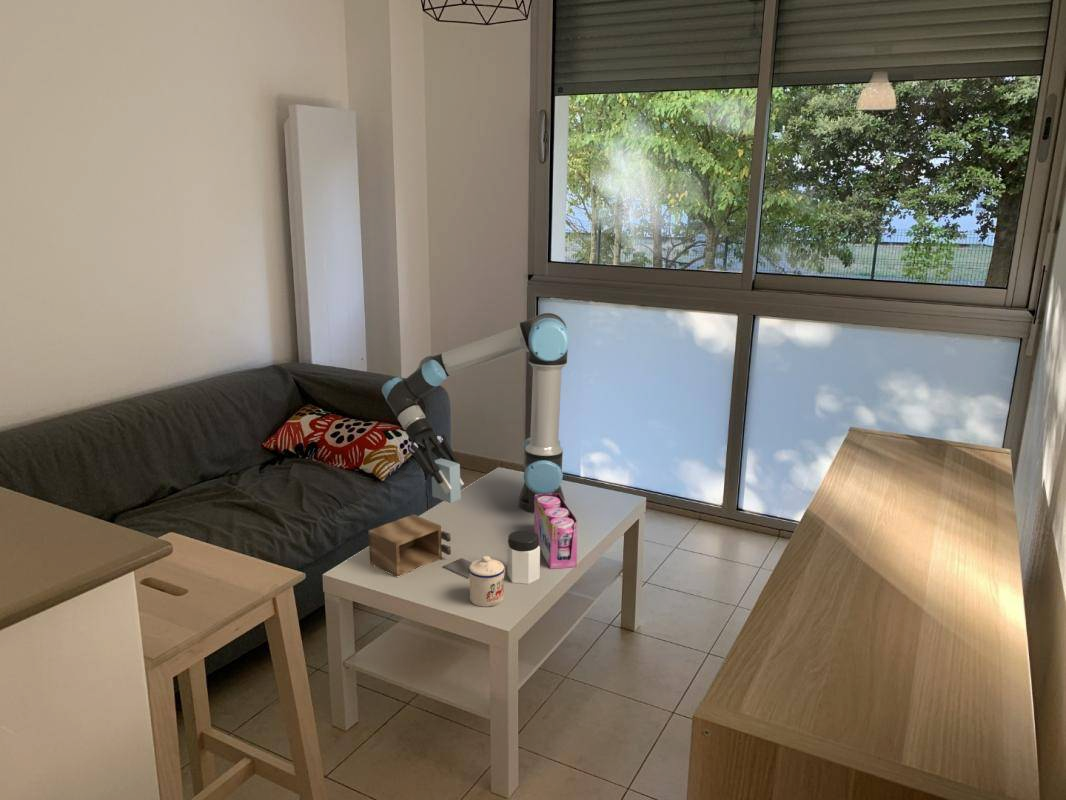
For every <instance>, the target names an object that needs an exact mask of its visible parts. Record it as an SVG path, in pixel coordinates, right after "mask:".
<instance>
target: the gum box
mask: <svg viewBox="0 0 1066 800" xmlns="http://www.w3.org/2000/svg"><path fill="white" fill-rule="evenodd" d="M533 514H534V518H533V519H534V522H533V523H534V527H533V528H534V529H533V530H534V531H533V532H535V533H537V534H538V536H539V546H540V552H541V553H542V555H543V557H544V559H545V562H546V563H547V565H548V567H549V568H550V570H552V569H553V570H554V569H567V568H578V567H577V565H578V553H577V552H578V521H577V518H576V516H575V515H574V514H573V512H572V511H571V510H570V508H569V506H568V505H567V504H566V501H565V502H564V501H563V499H562V497H561V496H560V494H559V493H553V494H538V495H535V499H534V512H533Z"/></svg>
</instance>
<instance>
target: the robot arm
mask: <svg viewBox="0 0 1066 800" xmlns="http://www.w3.org/2000/svg"><path fill="white" fill-rule="evenodd" d="M569 346H570V333H569V331H568V328H567V325H566V322H565V321H564V319H563V318H561V317H560V316H559V315H557V314H555V313H552V312H545V313H540V314H537V315H535V316H533V317H531V318H529V319H525V320H523V321H520V322H518V324H517V325H516V327H514V328H511V329H507V330H505V331H502V332H499V333H497V334H493V335H490V336H489V337H484V338H481V339H480V340H476V341H473V342H471V343H467V344H465V345H461V346H459V347H456V348H453V349H450V350H447V351H445V352H442V353H439V354H436V355H428V356H425V357H423V359H421V360H420V362H419V364H418V367H417V368H416V370H415V371H414V372H413V373H411V374H410V375H409V376H407V377H406V378H402V377H394V378H392V379H390V380H388V381H386V382H385V383H384V384H383V385H382V388H381V393H382V395H383V396H384V398H385V401H386V403H387V404H388V406H389V407H390V409H391V410H392V412H393V413H394V415H395V417H396V419H397V421H398V422H399V423H400V425H401V427H402V429H403V430H405V433H406V435H407V437H408V438H409V440H410V441H411V442H412V443H411V445H410V446H409V447H408V448H407V451H408V452H409V453H410V454H411V455H412V456H413V458H414V459H415V460H416V462H417V464H418V465H419V467H420V468H421V470H422V472H423V473H424V475H425V476H429V477H431V478H432V477H433V476H434V478H435V480H436V481H437V483H438V484H440V485H441V486H442V488H443V490H444V491H445V493H446V494H447V493H449V491H450V490H451V489H452V487H451V486H450V484H449V483H448V481H447V479H446V478H445V476H444V474H443V473H442V471H441V470H440V471H438V468H437V466H436V463H435V461H434V460H435V458H434V456H433V454H435V455H436V457H437V458H438V459H440V458H442V459H446V460H449V461H452V462H455V463H458V462H459V460H458V458H457V457H456V454H455V453H454V451H453V450H452V448H451V446H450V445H449V442H448V440H447V436H446V435H445V434H442V435H440V436H439V435H438V434H436V433H435V432H434V431H433V426H432V424H431V423H430V421H429V419H428V418H426V414H425V413H424V412H423V410H422V408H421V406H420V405H419V404H418V401H419V400H420V399H422V397H424V396H425V395H427V394H428V393H430V392H431V391H432V390H434V389H435V388H437V387H439V386H440V385H441V383H442V382H444V381H445V380H446V379H447V377H450V376H452V375H456V374H459V373H461V372H464V371H468V370H470V369H473V368H476V367H480V366H482V365H485V364H488V363H491V362H494V361H496V360H500V359H502V358H506V357H509V356H512V355H515V354H518V353H520V352H523V351H525V352H527V353H528V354H527V355H528V364H530V366H531V367H532V387H531V388H532V389H531V415H530V417H531V418H530V437H528V438H526V439H525V441H524V445H523V448H524V458H523V459H524V465H523V466H524V468H523V469H524V470H523V471H524V472H523V485H522V488H521V491H520V493H519V497H518V506H519V508H521V510H523V511H526V510H527V511H526V512H529V511H530V513H534V499H535V495H538V494H553V493H559V494H560V496H561V497H562V499H563V501H564V502H565V503H566V501H565V496H564V493H563V489H562V485H561V484H562V482H563V478H564V475H563V474H564V473H563V455H564V454H563V453H564V452H563V451H564V449H563V447H562V446H561V442H560V441H561V440H560V439H559V433H560V432H559V429H560V415H561V414H560V410H561V387H562V385H561V384H562V369H563V368H564V367H565V366H566V365H567V363H568V351H569V350H568V348H569ZM464 485H465V483H464V482H463V480H462V478H461V477H460V488H462V487H463V486H464Z"/></svg>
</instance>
